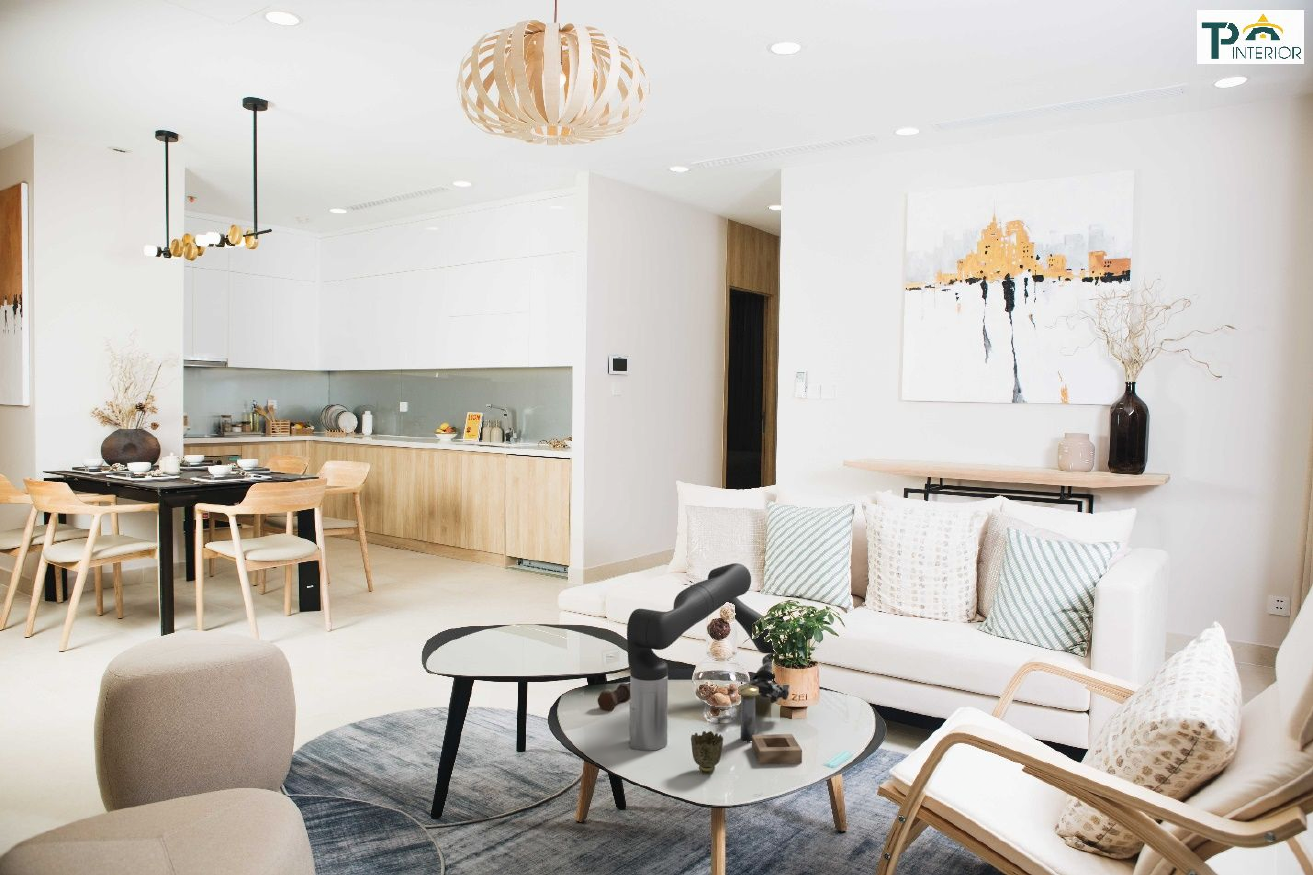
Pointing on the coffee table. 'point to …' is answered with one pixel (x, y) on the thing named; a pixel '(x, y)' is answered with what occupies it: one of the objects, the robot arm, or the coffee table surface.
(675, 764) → the coffee table surface
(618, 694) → the brown hex dumbbell
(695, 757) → the cup
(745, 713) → the pin
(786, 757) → the socket block
